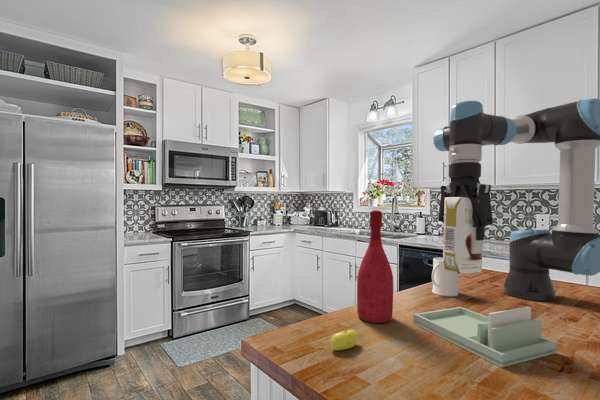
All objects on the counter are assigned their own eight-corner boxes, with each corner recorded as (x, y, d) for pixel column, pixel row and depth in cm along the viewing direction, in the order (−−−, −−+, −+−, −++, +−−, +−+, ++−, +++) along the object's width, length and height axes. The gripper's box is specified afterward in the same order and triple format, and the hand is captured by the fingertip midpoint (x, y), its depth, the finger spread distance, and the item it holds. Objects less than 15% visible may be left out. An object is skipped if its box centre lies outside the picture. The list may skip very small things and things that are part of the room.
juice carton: (438, 268, 88) (439, 196, 88) (462, 266, 91) (463, 197, 91) (461, 274, 81) (463, 196, 81) (486, 272, 84) (488, 197, 84)
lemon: (325, 348, 73) (325, 331, 73) (352, 340, 78) (352, 323, 78) (337, 356, 70) (337, 337, 70) (364, 347, 74) (365, 329, 74)
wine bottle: (399, 318, 93) (400, 210, 93) (381, 327, 86) (383, 211, 85) (368, 309, 99) (369, 209, 99) (349, 318, 92) (351, 210, 92)
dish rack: (460, 315, 95) (460, 284, 95) (555, 353, 72) (556, 311, 72) (413, 323, 89) (413, 289, 89) (501, 367, 66) (502, 322, 66)
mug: (440, 299, 111) (441, 263, 111) (420, 292, 119) (421, 259, 119) (463, 294, 117) (464, 260, 117) (442, 288, 124) (443, 256, 124)
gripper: (425, 165, 94) (422, 245, 94) (489, 157, 75) (487, 258, 75) (445, 167, 97) (443, 245, 97) (512, 159, 78) (510, 256, 78)
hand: (462, 250), depth 86 cm, fingers closed on juice carton, 8 cm apart
